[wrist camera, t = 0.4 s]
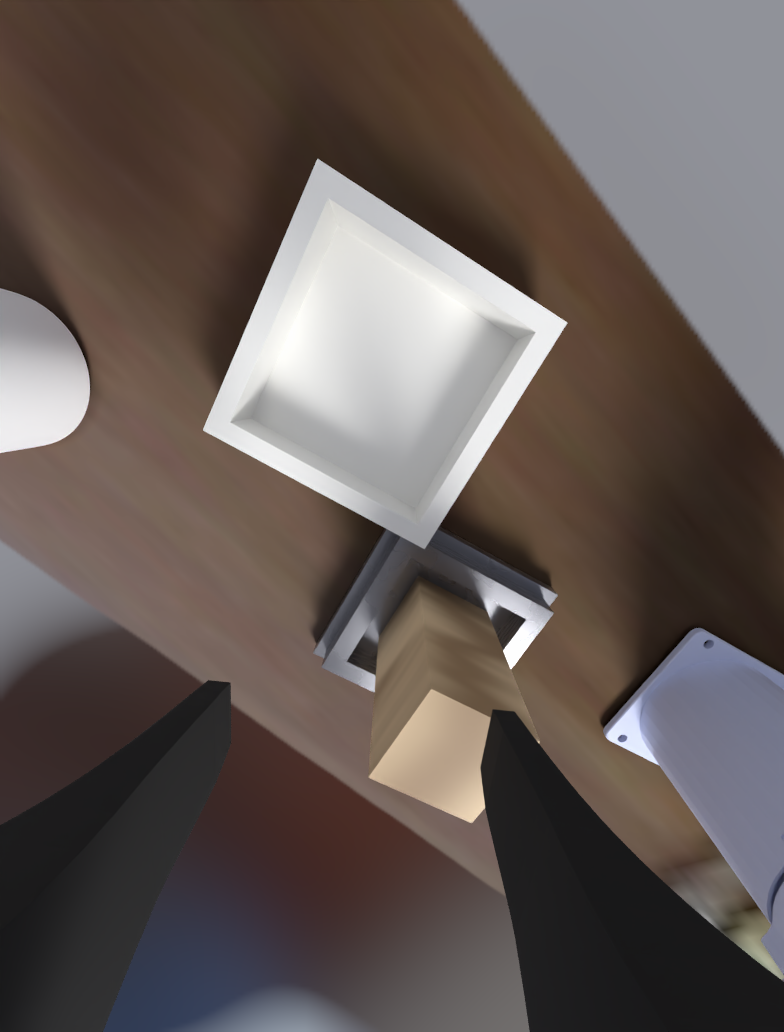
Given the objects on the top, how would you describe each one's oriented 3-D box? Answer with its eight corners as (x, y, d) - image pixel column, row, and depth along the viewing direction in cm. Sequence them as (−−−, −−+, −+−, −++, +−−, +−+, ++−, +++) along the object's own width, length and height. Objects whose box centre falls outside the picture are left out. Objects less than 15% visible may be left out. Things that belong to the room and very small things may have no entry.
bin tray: (539, 333, 18) (567, 322, 15) (420, 526, 20) (424, 549, 17) (331, 199, 16) (317, 158, 13) (232, 424, 19) (203, 430, 16)
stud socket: (552, 587, 21) (569, 609, 19) (458, 712, 23) (464, 744, 21) (399, 503, 20) (399, 516, 18) (316, 644, 22) (307, 670, 20)
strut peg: (487, 611, 21) (540, 741, 13) (445, 670, 22) (471, 823, 14) (418, 575, 20) (431, 688, 12) (378, 637, 21) (368, 777, 14)
